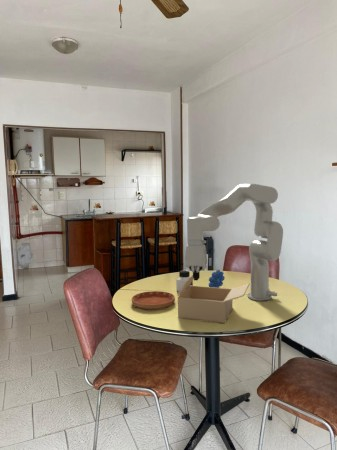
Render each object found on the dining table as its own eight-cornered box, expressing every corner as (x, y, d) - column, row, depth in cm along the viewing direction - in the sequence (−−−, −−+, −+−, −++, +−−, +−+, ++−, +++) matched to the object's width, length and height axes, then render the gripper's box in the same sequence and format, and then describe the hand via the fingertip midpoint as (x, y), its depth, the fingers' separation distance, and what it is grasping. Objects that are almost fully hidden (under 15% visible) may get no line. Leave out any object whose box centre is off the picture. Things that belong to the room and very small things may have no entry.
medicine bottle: (186, 293, 200) (185, 272, 199) (176, 291, 204) (175, 271, 203) (193, 290, 206) (192, 270, 204) (183, 288, 210) (182, 268, 209)
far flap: (178, 296, 163) (177, 295, 163) (189, 285, 180) (189, 284, 180) (187, 281, 160) (186, 280, 160) (198, 271, 178) (197, 270, 178)
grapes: (219, 286, 211) (219, 267, 210) (226, 289, 206) (226, 269, 204) (204, 289, 205) (204, 270, 204) (211, 292, 200) (211, 272, 198)
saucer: (127, 300, 191) (126, 293, 190) (166, 294, 199) (166, 288, 198) (138, 314, 169) (138, 307, 169) (181, 307, 177) (181, 300, 177)
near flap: (232, 288, 173) (232, 289, 173) (224, 301, 155) (225, 302, 155) (249, 283, 169) (249, 284, 169) (243, 294, 152) (243, 296, 152)
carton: (232, 308, 174) (232, 289, 173) (224, 323, 156) (224, 302, 155) (190, 303, 182) (190, 285, 181) (178, 317, 163) (177, 297, 162)
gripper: (212, 241, 167) (213, 278, 170) (182, 240, 172) (183, 276, 175) (209, 244, 160) (209, 282, 163) (178, 243, 165) (179, 281, 168)
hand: (196, 279), depth 169 cm, fingers closed
